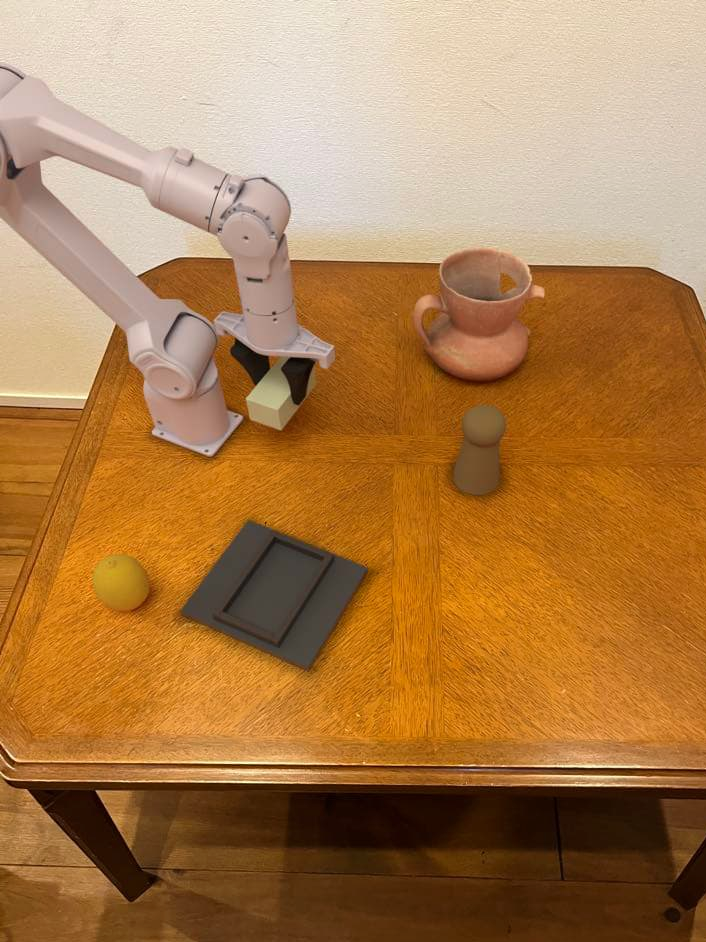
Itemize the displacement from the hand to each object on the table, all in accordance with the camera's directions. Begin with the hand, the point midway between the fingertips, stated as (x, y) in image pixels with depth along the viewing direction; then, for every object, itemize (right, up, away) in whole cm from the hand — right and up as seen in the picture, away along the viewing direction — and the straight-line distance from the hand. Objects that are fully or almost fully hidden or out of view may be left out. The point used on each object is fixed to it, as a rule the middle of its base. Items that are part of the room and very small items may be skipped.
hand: (282, 393), depth 90 cm
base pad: (+1, -24, -7) cm, 25 cm away
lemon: (-16, -25, -8) cm, 31 cm away
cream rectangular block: (0, -1, +1) cm, 1 cm away
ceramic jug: (+25, +8, +17) cm, 31 cm away
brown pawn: (+24, -10, +4) cm, 26 cm away
